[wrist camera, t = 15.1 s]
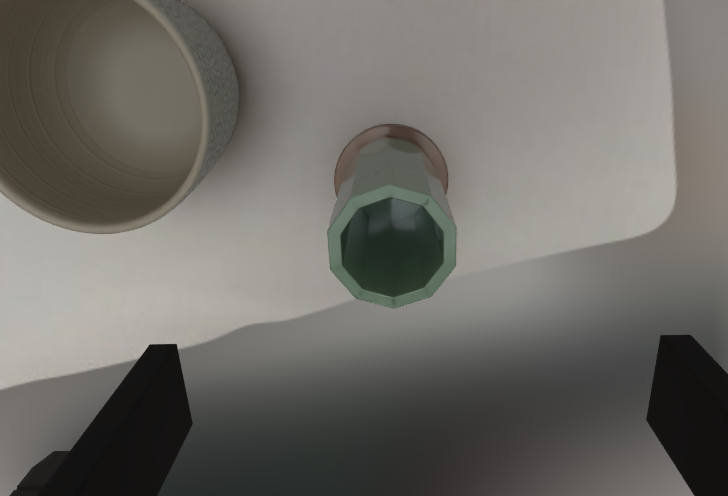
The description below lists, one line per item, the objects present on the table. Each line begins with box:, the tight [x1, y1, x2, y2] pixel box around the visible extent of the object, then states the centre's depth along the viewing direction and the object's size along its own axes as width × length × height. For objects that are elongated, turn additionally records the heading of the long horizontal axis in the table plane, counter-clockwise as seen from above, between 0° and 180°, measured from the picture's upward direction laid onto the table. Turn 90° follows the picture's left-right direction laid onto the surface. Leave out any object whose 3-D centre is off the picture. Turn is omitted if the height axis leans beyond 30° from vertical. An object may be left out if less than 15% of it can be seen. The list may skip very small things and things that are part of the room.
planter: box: [0, 0, 239, 234], centre depth 31 cm, size 12×12×11 cm
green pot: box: [327, 138, 456, 308], centre depth 32 cm, size 6×6×12 cm
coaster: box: [334, 124, 448, 197], centre depth 38 cm, size 8×8×1 cm
